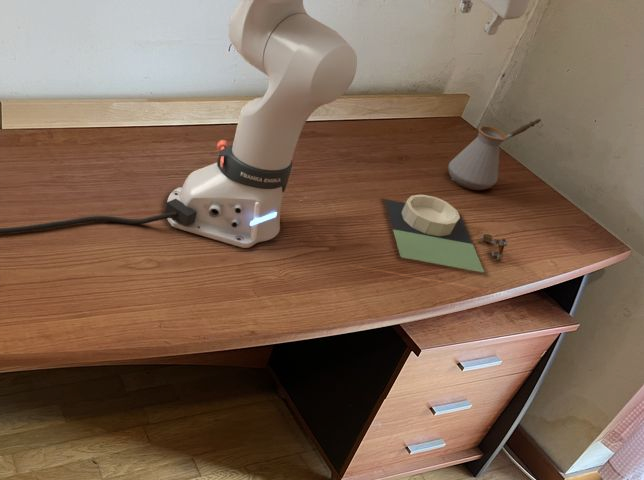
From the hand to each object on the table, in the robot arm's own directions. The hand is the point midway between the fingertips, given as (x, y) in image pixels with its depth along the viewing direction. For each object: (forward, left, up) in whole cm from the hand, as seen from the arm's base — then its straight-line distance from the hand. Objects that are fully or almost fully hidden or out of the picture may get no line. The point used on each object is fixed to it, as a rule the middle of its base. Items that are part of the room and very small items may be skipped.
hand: (476, 22), depth 137 cm
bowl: (+2, -14, -36) cm, 39 cm away
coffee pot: (+21, +11, -36) cm, 43 cm away
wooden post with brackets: (+15, -21, -36) cm, 45 cm away
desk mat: (+2, -19, -36) cm, 41 cm away
